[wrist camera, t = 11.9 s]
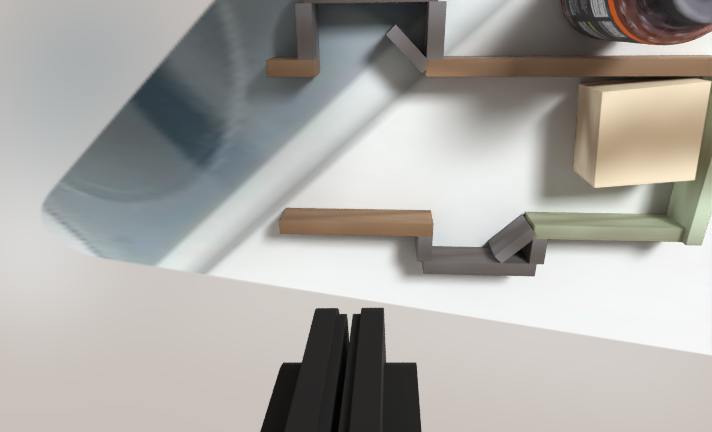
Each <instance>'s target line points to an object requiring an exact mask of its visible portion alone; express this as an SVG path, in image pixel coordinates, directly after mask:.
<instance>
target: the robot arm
mask: <svg viewBox="0 0 712 432" xmlns="http://www.w3.org/2000/svg"><path fill="white" fill-rule="evenodd" d="M384 326H385V325H384V308H362V309H361V314H353V319H352V326H351V334H350V342H349V333H348V320H347V314H339V309H338V308H317V309H316V310H315V313H314V317H313V321H312V325H311V329H310V333H309V337H308V341H307V345H306V349H305V352H304V356H303V360H302V363H283V364H282V365H281V368H280V370H279V373H278V376H277V380H276V383H275V386H274V389H273V393H272V396H271V399H270V402H269V406H268V409H267V412H266V415H265V419H264V422H263V425H262V428H261V431H260V432H421V420H420V406H419V393H418V378H417V365H416V363H386V350H385V327H384Z"/></svg>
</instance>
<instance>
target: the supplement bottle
mask: <svg viewBox="0 0 712 432" xmlns="http://www.w3.org/2000/svg"><path fill="white" fill-rule="evenodd" d="M561 4H562V9H563V12H564V15H565V17H566V18H567V20H568V22H569V23H570V24H571V26H573V27H574V28H575V29H576V30H577V31H578V32H580V33H582V34H584V35H586V36H589V37H591V38H595V39H601V40H611V41H621V42H630V43H640V44H649V45H650V44H652V45H674V44H680V43H685V42H689V41H692V40H695V39H697V38H700V37H702V36H704V35H705V34H707V33H709V32H711V31H712V0H561Z"/></svg>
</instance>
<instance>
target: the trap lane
mask: <svg viewBox="0 0 712 432" xmlns="http://www.w3.org/2000/svg"><path fill="white" fill-rule="evenodd" d="M446 2H447V1H440V2H438V0H303V3H295V19H296V37H297V55H298V57H274V58H272V59H269V60H266V63H267V76H268V77H315V76H316V75H317V74H318V73H320V64H319V38H318V11H317V4H366V3H426V23H425V46H424V55H423V54H422V53H421V52H420V51H419V49H418V48H417V47H416V46H415V45H414V44H413V43H412V42H411V41H410V40H409V39H408V37H407V36H406V35H405V34H404V33H403V32H402V31H401V30H400V29H399V28H398V26H397V25H396V24H395V25H394V26H393V27H392V28H391V29H390V30H389V31H388V32H387V33H386V35H387V36H388V37H389V39H390V40H391V41H392V42H393V43H394V44H395V45H396V46H397V47H398V48H399V49H400V50H401V51H402V53H403V54H404V55H405V56H406V57H407V58H408V59H409V60H410V61H411V62H412V63H413V64H414V65H415V67H416V68H417V69H418V70H419V71H420V72H421V73H424V74H425V76H426V77H478V76H703V77H702V80H707V81H712V55H660V56H443V53H444V36H445V19H446ZM711 213H712V82H711V88H710V94H709V99H708V105H707V111H706V117H705V123H704V129H703V135H702V141H701V147H700V152H699V158H698V164H697V170H696V176H695V180H690V181H677V182H674V186H673V190H672V194H671V197H670V201H669V205H668V209H667V212H666V214H609V213H551V212H526V213H525V217H524V216H523V215H520V216H519V217H518V218H517V219H515V220H514V221H513V222H512V223H510V224H509V225H508V226H506V227H505V228H504V229H503V230H501V231H500V232H499V233H498V234H496V235H495V236H494V237H492V238H491V239H490V240H489V241H488V242H489V245H490V247H491V248H487V247H441V246H432V238H433V220H432V215H431V210H374V209H315V208H286V209H285V211H284V213H283V215H282V216H281V218H280V220H279V227H280V234H324V235H373V236H416V254H417V261H422V265H423V273H427V274H466V275H505V276H535V270H536V264H544V259H545V253H546V247H547V241H548V239H567V240H615V241H663V242H683V243H684V244H685V245H702V242H703V239H704V235H705V232H706V229H707V226H708V222H709V219H710V216H711Z"/></svg>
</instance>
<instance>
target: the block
mask: <svg viewBox="0 0 712 432" xmlns="http://www.w3.org/2000/svg"><path fill="white" fill-rule="evenodd" d="M711 82H712V81H707V80H702V79H697V78H692V77H687V76H651V77H641V78H631V79H622V80H612V81H602V82H592V83H582V84H579V92H578V107H577V122H576V137H575V151H574V166H573V170H574V171H575V172H576V173H577V174H578V175H580V176H581V177H582V178H583V179H584V180H586V181H587V182H588V183H589V184H590V185H591V186H593V187H594V188H599V187H612V186H625V185H638V184H651V183H664V182H677V181H690V180H695V176H696V170H697V164H698V158H699V152H700V147H701V141H702V135H703V129H704V123H705V117H706V111H707V105H708V99H709V94H710V88H711Z"/></svg>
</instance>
